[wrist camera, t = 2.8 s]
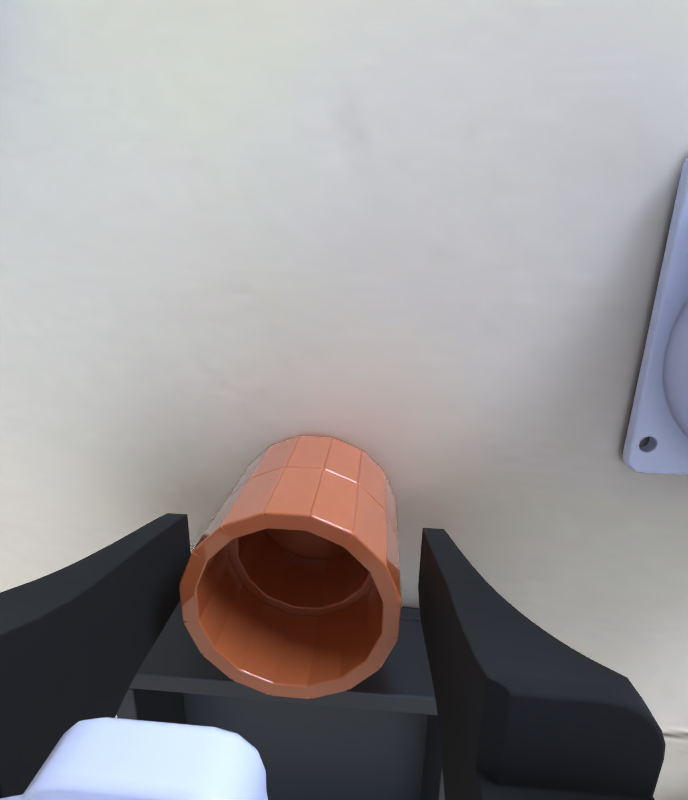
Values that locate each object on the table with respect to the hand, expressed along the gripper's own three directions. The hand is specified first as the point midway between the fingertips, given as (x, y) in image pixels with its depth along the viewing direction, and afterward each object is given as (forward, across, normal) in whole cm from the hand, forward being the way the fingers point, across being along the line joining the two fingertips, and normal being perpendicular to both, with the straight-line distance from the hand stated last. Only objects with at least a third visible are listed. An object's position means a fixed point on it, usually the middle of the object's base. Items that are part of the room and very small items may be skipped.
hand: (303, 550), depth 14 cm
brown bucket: (+3, 0, 0) cm, 3 cm away
